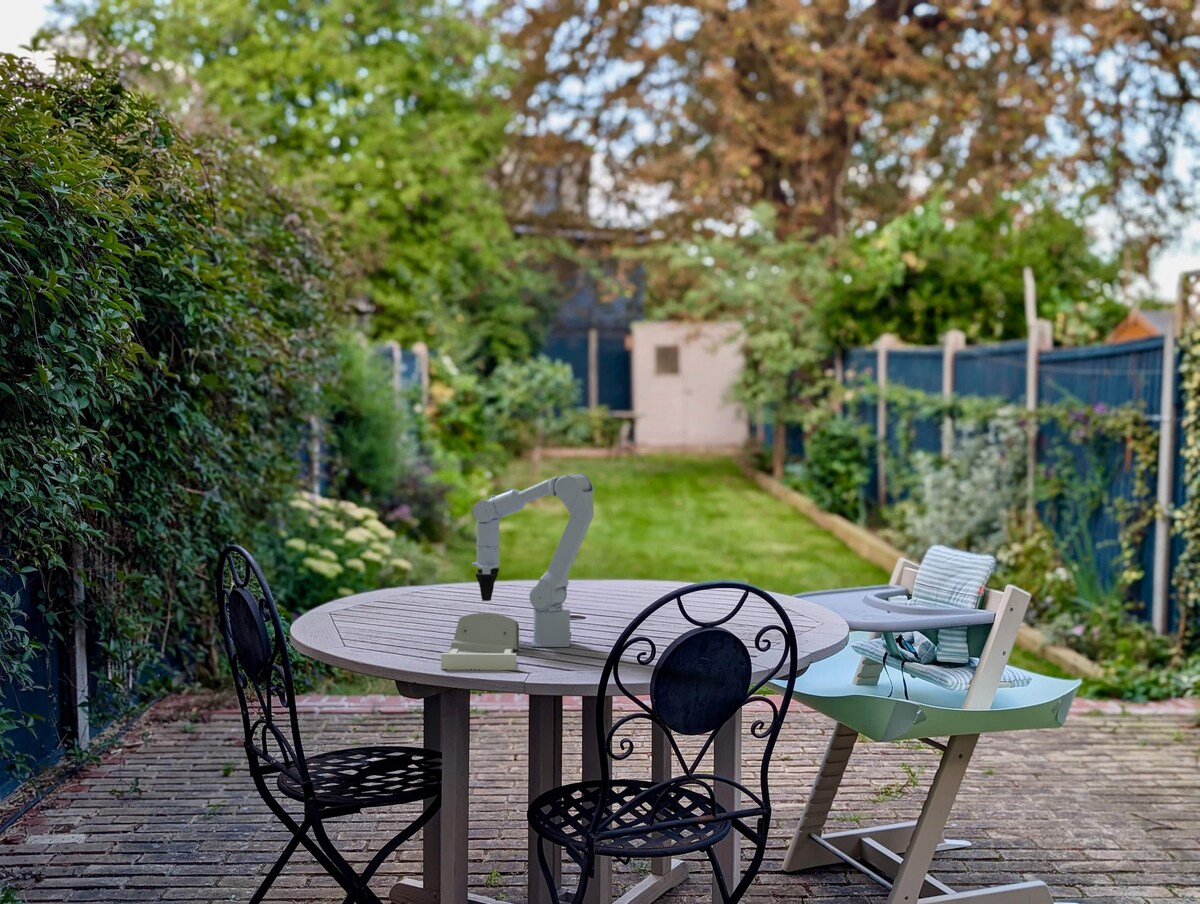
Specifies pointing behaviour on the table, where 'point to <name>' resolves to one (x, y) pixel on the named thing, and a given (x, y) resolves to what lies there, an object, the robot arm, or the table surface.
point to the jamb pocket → (478, 660)
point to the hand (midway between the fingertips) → (487, 598)
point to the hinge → (486, 633)
